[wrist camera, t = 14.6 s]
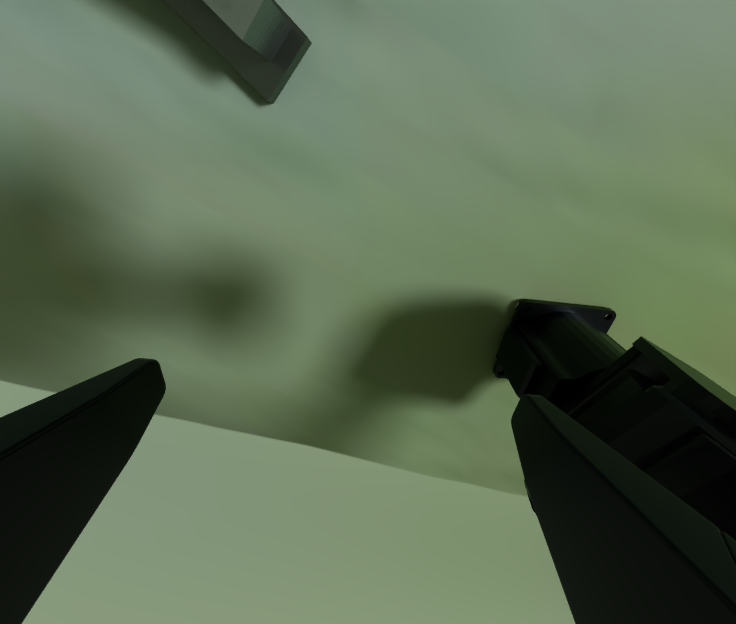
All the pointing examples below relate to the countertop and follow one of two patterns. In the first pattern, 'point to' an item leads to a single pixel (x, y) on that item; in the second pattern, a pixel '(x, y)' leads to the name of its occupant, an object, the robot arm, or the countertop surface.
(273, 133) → the countertop surface
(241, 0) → the gray metal frame
